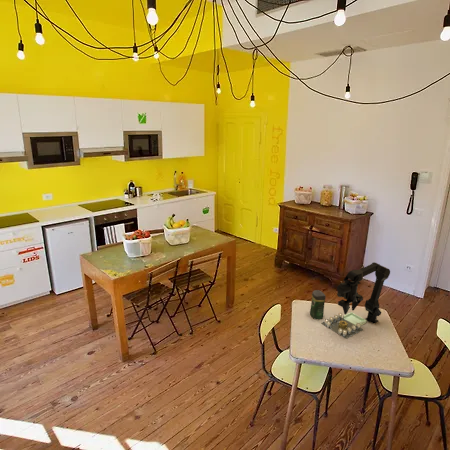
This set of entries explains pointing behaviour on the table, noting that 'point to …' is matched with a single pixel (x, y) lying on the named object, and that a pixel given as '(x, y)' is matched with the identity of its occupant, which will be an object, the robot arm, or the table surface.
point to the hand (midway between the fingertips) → (348, 312)
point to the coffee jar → (317, 304)
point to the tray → (354, 318)
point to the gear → (343, 324)
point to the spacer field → (345, 332)
